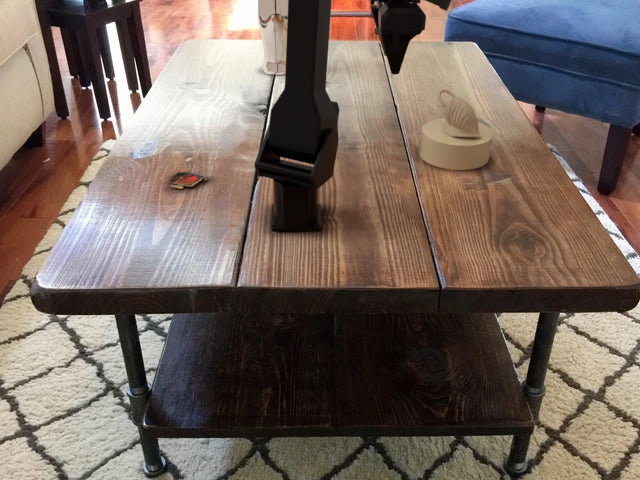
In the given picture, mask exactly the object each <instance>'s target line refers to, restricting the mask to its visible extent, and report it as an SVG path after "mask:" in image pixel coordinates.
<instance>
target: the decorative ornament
mask: <svg viewBox="0 0 640 480" xmlns="http://www.w3.org/2000/svg"><path fill="white" fill-rule="evenodd" d="M443 93H446V94H447V95H449V96H450V97H451V99H450V100H448V102H445V100H444V99H443V97H442V94H443ZM437 99H438V101H439V103H440V104H441V105H442V106H443V107H444V113H443V114H444V115H443V116H444V118H445V120H446V122H444V124H443V129H444V131H445V133H446V134H448V135H450V136H452V137H456V136H458V137H480V138H482V137H481V135H480V133H479V127H478V122H479V121H478V117H477V114H476V112H475V109H474V108H473V107H472V105H471V104H470V103H469V102H468V101H467V100H465V99H464V98H461V97H458V96H457V97H456V95H455V94H454V92H453V91H451V90H449V89H447V88H443V89H440V90H439V91H438V93H437Z"/></svg>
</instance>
